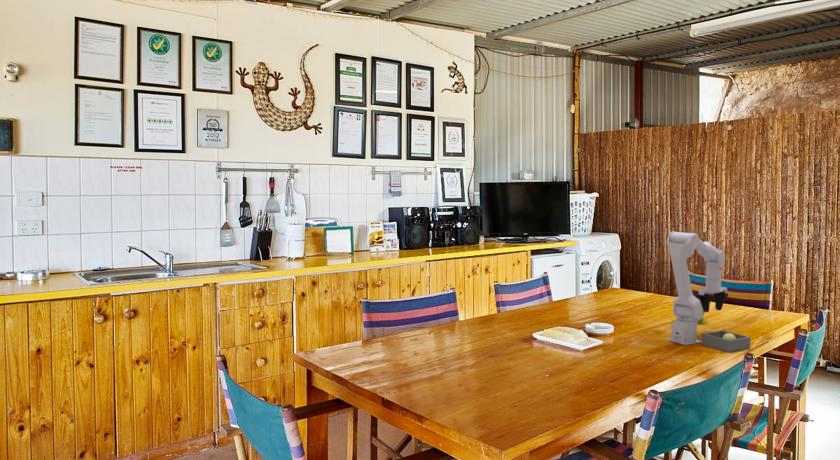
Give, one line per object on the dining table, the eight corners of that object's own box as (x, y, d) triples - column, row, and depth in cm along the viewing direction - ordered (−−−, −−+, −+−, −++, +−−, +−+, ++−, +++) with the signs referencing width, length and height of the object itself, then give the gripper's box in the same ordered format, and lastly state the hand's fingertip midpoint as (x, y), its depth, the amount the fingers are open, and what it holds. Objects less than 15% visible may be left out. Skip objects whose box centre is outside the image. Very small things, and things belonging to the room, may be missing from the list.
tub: (729, 352, 233) (729, 340, 233) (701, 344, 244) (701, 333, 243) (749, 348, 239) (750, 337, 238) (721, 341, 249) (722, 330, 249)
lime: (729, 348, 238) (729, 336, 237) (719, 344, 242) (719, 332, 242) (739, 346, 240) (739, 334, 239) (729, 343, 244) (729, 331, 243)
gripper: (709, 280, 251) (708, 314, 252) (734, 278, 257) (732, 311, 259) (694, 278, 257) (693, 311, 258) (719, 275, 264) (717, 307, 265)
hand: (712, 310), depth 259 cm, fingers open, 7 cm apart
